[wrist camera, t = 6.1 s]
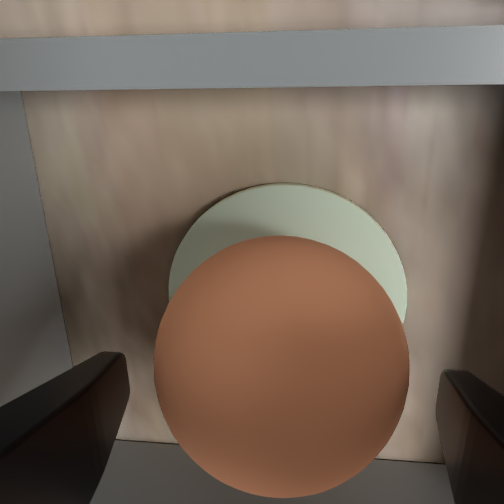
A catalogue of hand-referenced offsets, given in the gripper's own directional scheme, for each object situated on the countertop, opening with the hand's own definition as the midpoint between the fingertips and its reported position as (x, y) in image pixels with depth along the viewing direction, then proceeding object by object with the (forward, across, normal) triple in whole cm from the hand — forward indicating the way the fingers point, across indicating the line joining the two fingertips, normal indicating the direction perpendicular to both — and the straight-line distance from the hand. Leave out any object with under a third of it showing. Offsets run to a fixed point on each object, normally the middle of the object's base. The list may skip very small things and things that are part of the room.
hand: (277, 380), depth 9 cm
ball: (+3, 0, 0) cm, 3 cm away
